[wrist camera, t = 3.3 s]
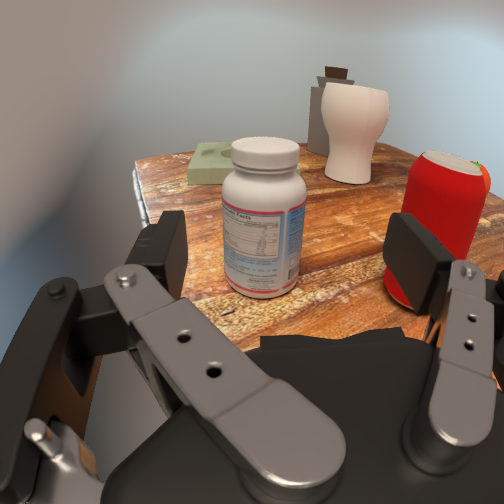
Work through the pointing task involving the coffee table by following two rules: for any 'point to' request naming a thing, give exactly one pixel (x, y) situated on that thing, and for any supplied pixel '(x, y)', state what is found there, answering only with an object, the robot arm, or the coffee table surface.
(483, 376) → the robot arm
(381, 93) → the cup
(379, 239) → the coffee table surface
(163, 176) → the coffee table surface
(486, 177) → the clementine
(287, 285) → the pill bottle
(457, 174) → the beverage can
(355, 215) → the coffee table surface
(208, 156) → the hole plate
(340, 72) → the perfume bottle
